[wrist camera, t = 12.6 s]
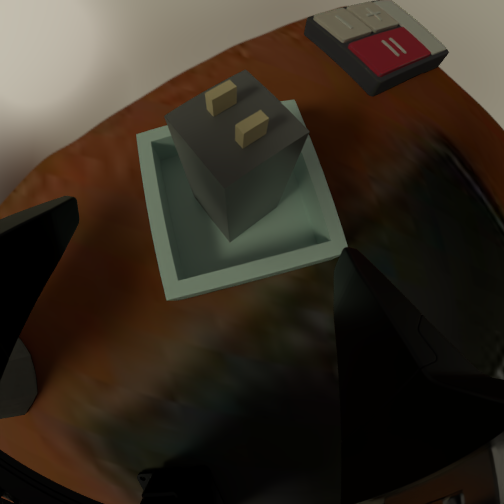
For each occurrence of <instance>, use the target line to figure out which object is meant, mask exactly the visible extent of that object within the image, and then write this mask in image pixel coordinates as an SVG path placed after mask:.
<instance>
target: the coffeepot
mask: <svg viewBox="0 0 504 504" xmlns="http://www.w3.org/2000/svg"><path fill="white" fill-rule="evenodd" d="M36 395H37V381H36V373H35V369H34V365H33V362H32V360H31V355H30V353H29V352H28V350H27V348H26V347H25V345H24V344H23V342H22V341H21V340H20V338H19V337H18V340H17V342H16V344H15V346H14V349H13V351H12V353H11V355H10V357H9V361H8V363H7V365H6V368H5V370H4V373H3V376H2V378H1V381H0V419H2V418H8V417H14V416H20V415H25V414H26V412H27V410H28V409H29V407H30V406H31V405H32V404H33V401H34V399H35V397H36Z"/></svg>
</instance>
